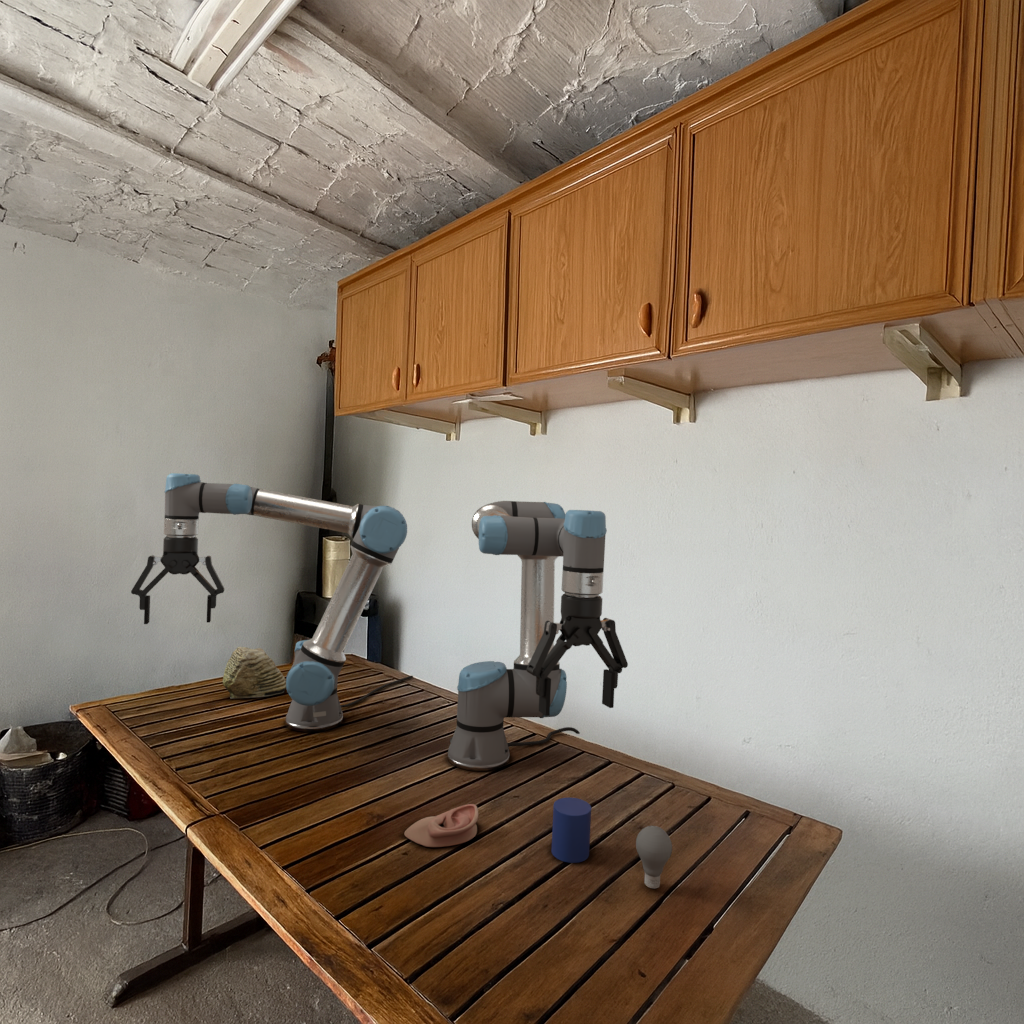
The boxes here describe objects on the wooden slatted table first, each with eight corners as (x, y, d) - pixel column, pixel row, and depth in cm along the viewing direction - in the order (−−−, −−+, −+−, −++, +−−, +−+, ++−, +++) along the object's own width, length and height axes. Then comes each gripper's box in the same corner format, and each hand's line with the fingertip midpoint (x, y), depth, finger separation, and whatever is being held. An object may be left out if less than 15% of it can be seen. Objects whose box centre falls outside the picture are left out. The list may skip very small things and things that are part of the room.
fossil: (218, 695, 195) (220, 647, 195) (278, 685, 208) (279, 640, 207) (228, 703, 189) (230, 653, 188) (289, 692, 201) (290, 645, 201)
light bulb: (629, 875, 110) (632, 818, 110) (663, 875, 110) (666, 818, 110) (639, 897, 104) (642, 837, 104) (675, 897, 104) (678, 837, 104)
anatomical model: (398, 821, 117) (420, 793, 128) (397, 842, 117) (419, 813, 128) (468, 831, 114) (483, 802, 126) (467, 853, 114) (482, 822, 126)
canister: (592, 846, 119) (594, 801, 119) (584, 866, 112) (587, 818, 112) (556, 839, 121) (558, 794, 121) (547, 858, 115) (549, 811, 114)
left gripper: (119, 536, 148) (116, 626, 148) (235, 538, 157) (232, 623, 157) (125, 534, 155) (122, 620, 155) (236, 536, 164) (234, 617, 164)
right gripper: (530, 599, 107) (525, 723, 108) (649, 595, 118) (644, 708, 118) (511, 592, 114) (506, 709, 114) (626, 589, 125) (621, 696, 125)
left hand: (178, 622), depth 156 cm, fingers open, 13 cm apart
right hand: (576, 709), depth 116 cm, fingers open, 13 cm apart
